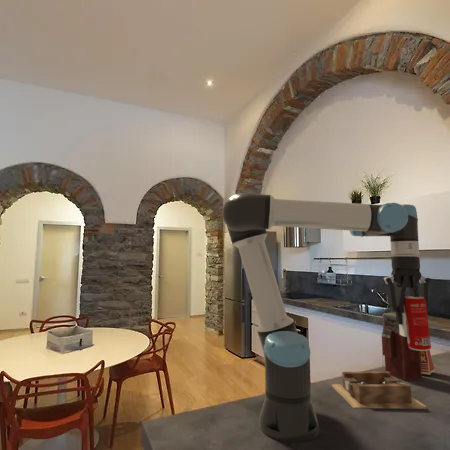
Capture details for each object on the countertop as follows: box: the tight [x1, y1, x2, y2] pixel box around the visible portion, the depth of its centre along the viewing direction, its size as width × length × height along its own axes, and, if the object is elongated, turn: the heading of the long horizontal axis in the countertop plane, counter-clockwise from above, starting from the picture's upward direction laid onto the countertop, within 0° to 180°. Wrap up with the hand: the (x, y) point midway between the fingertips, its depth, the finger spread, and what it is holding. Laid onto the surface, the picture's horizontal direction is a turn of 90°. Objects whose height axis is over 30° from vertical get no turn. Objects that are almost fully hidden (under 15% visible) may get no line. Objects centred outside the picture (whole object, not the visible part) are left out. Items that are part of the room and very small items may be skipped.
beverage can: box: [404, 295, 432, 351], centre depth 95 cm, size 6×6×15 cm
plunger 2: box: [382, 379, 406, 384], centre depth 106 cm, size 7×2×2 cm, turn 92°
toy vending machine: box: [381, 308, 422, 382], centre depth 128 cm, size 9×11×28 cm
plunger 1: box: [345, 381, 367, 391], centre depth 106 cm, size 7×2×2 cm, turn 92°
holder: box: [331, 370, 428, 410], centre depth 106 cm, size 22×18×6 cm
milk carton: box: [420, 349, 436, 376], centre depth 133 cm, size 9×9×20 cm
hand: (409, 335), depth 96 cm, fingers closed on beverage can, 3 cm apart
